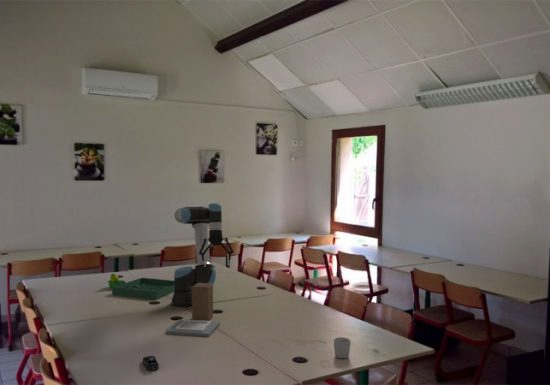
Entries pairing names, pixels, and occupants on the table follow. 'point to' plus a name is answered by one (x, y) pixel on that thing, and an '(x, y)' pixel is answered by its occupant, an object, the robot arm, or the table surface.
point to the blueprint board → (193, 328)
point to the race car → (150, 363)
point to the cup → (342, 347)
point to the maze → (145, 288)
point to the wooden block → (202, 301)
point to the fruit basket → (115, 281)
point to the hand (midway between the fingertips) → (216, 266)
